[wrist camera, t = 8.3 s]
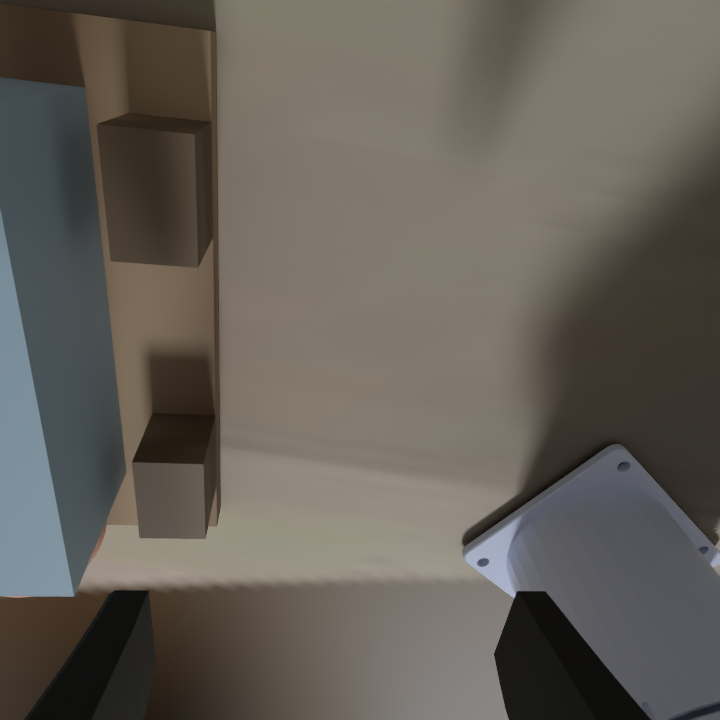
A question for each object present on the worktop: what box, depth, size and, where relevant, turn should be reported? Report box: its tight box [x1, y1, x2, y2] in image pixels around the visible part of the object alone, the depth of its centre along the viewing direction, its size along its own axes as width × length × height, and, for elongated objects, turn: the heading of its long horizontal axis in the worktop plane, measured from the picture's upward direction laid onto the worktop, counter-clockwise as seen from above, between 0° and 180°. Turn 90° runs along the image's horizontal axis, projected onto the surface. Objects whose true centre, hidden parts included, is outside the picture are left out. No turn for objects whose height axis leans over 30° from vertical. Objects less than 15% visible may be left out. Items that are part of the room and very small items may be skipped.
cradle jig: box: [0, 3, 220, 539], centre depth 16 cm, size 10×16×4 cm, turn 174°
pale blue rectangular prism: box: [0, 77, 127, 598], centre depth 14 cm, size 4×14×5 cm, turn 173°
